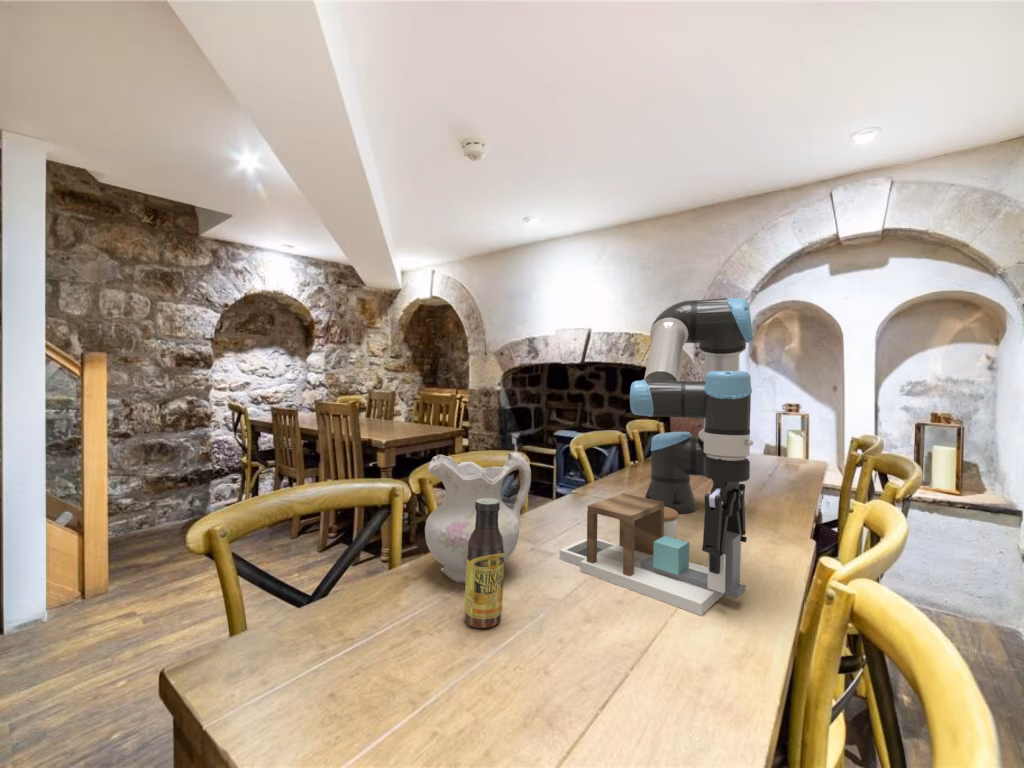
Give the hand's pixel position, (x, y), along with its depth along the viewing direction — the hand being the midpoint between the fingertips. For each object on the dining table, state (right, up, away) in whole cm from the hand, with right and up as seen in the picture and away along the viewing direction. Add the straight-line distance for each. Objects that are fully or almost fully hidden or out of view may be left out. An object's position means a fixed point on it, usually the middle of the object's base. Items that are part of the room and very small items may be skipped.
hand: (724, 582), depth 82 cm
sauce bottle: (-43, -3, -7) cm, 44 cm away
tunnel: (-14, -1, +14) cm, 20 cm away
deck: (-12, -3, +12) cm, 17 cm away
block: (-7, 0, +7) cm, 10 cm away
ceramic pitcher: (-45, -3, +12) cm, 47 cm away
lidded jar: (-3, -3, +30) cm, 30 cm away
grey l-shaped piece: (-5, -1, +4) cm, 6 cm away
